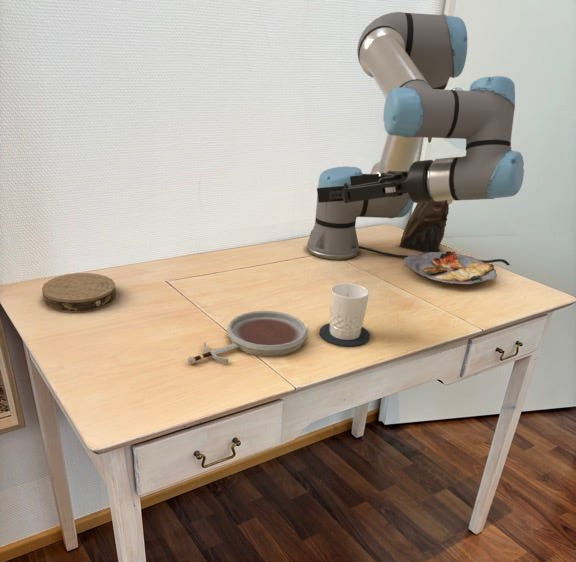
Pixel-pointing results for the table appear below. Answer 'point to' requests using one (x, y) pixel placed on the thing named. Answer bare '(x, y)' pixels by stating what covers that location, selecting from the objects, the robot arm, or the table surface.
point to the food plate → (450, 267)
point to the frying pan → (261, 335)
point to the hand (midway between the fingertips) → (335, 188)
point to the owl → (426, 227)
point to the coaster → (331, 339)
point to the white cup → (347, 310)
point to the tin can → (79, 292)
